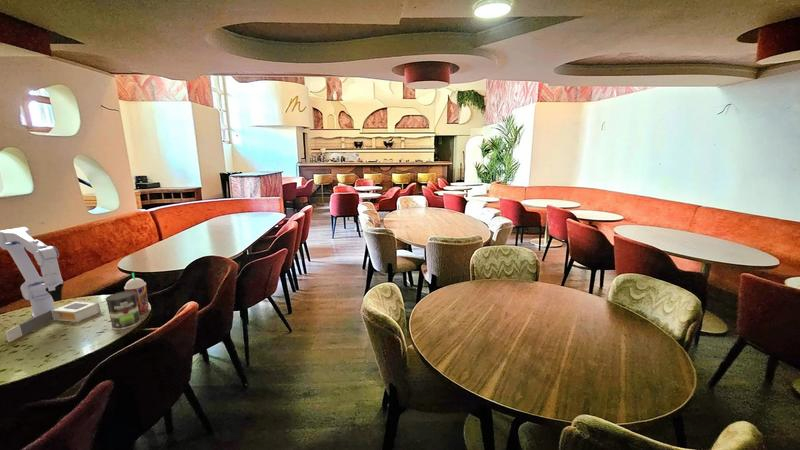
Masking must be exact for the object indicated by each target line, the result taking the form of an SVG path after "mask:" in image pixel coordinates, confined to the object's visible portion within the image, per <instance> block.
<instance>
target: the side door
mask: <svg viewBox="0 0 800 450" xmlns="http://www.w3.org/2000/svg"><path fill="white" fill-rule="evenodd" d="M53 320H54V315H52V311H51V310H48V311H46V312H44V313H42V314H40V315H38V316H36V317H32V318H30V319H28V320H26V321H23V322H22V323H20V324H17V325H15V326H14V327H11V328H8V329H7V330H5V331H4V333H5V335H6V340H7V342H8V343H10V342H13V341H15V340H17V339H19V338H21V337H22V336H24V335H26V334H28V333H30V332H32V331H34V330H36V329H38V328H39V327H42V326H43V325H45V324H47V323H50V322H51V321H53Z"/></svg>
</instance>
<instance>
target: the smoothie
mask: <svg viewBox="0 0 800 450" xmlns="http://www.w3.org/2000/svg"><path fill="white" fill-rule="evenodd" d="M131 276H132V278H131V279H129V280H128V281H127V282H126V283H125V286H123V289H124V291H135V292H136V299H137V304H138V309H139V314H143V313H146V312H148V310H149V309H148V308H149V307H150V305H149V299H148V290H147V282H146V281H144V279H142V278H140V277H135V272H131Z"/></svg>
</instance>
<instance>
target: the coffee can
mask: <svg viewBox="0 0 800 450" xmlns="http://www.w3.org/2000/svg"><path fill="white" fill-rule="evenodd" d="M105 301H106V306H107V308H108V309H107V310H108V313H109V318H110V322H111V328H112V330H117V331H119V330H126V329H129V328H133V327H135V326H137V325H138V324H140V323H141V321H142V319H141V315H140V314H141V313H140V314H139V309H138V304H137V299H136V292H135V291H125V290H124V291H119V292H115V293H112V294H110V295H107V296H106V297H105Z"/></svg>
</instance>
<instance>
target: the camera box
mask: <svg viewBox="0 0 800 450" xmlns="http://www.w3.org/2000/svg"><path fill="white" fill-rule="evenodd" d="M52 312H53V320H54V321H62V322H63V321H65V322H73V323H80V322H81V321H84V320H86V319H89V318H91V317H93V316H95V315H98V314H100V313H101V312H102V311H101V306H100V303H99V302H95V301H84V300H74V301H71V302H69V303H67V304H64V305H62V306H59V307H55V309H54V310H52Z"/></svg>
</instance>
